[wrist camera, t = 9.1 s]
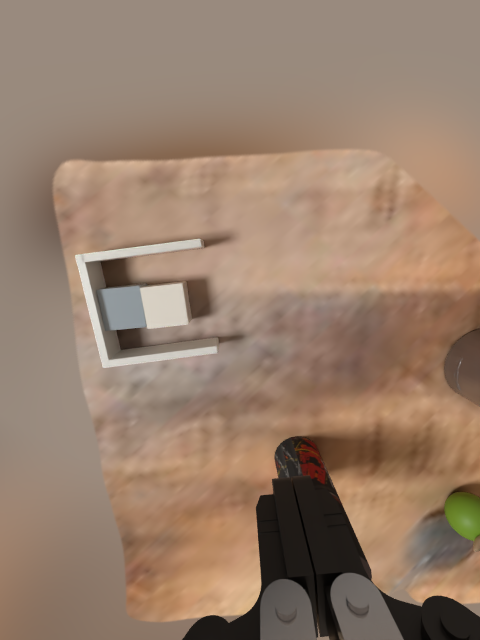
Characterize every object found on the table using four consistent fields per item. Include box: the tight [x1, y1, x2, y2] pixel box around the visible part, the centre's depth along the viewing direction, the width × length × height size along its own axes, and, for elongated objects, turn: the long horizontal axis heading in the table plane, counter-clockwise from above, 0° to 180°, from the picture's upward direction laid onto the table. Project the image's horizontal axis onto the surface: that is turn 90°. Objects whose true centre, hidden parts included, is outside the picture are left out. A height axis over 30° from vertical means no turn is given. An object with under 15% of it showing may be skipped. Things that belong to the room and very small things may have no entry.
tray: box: [75, 239, 219, 368], centre depth 32 cm, size 13×12×4 cm
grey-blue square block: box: [97, 283, 147, 331], centre depth 32 cm, size 4×4×3 cm
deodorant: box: [275, 437, 372, 580], centre depth 31 cm, size 6×6×15 cm
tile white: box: [140, 281, 192, 329], centre depth 32 cm, size 4×4×3 cm
